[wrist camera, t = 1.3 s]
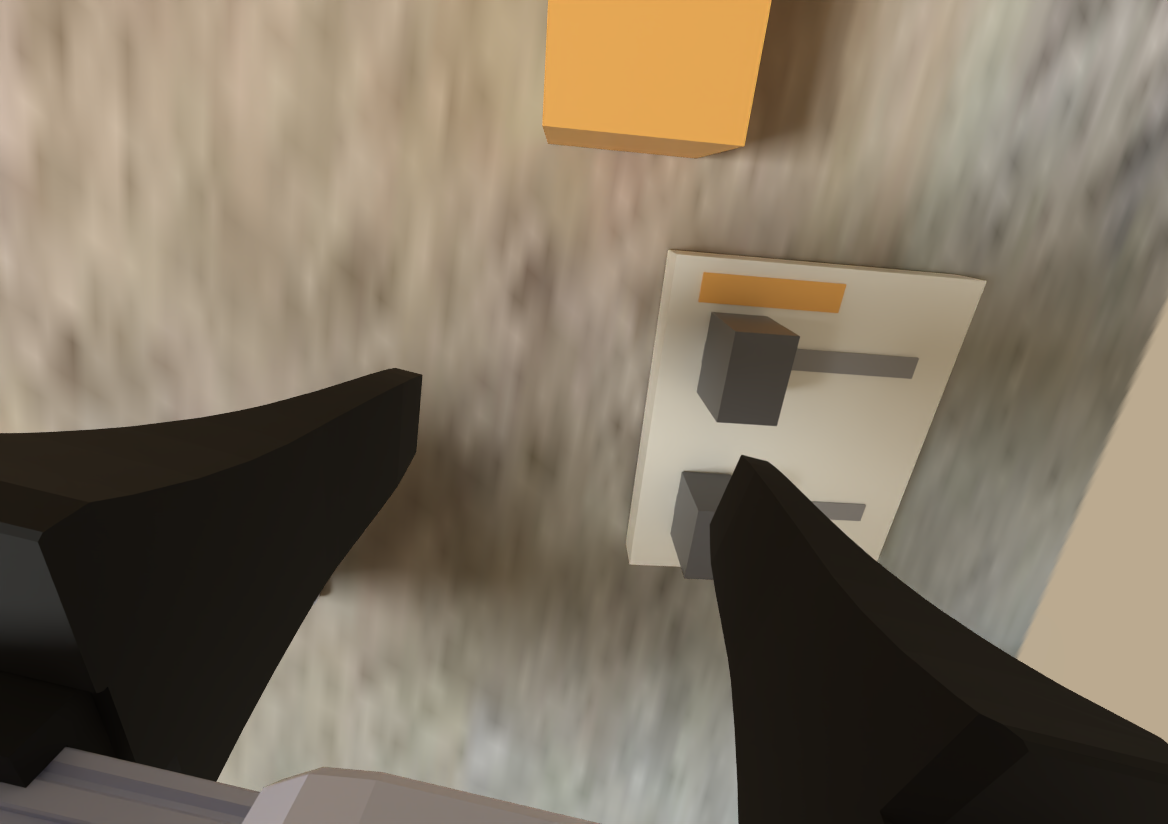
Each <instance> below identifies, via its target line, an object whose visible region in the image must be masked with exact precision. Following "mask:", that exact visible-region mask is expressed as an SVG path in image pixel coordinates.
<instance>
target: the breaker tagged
mask: <svg viewBox="0 0 1168 824" xmlns="http://www.w3.org/2000/svg"><path fill="white" fill-rule="evenodd" d="M799 339H800V336H799V335H797V334H796V333H794V332H792V331H791V330H789V329H787V328H786V327H784V326H782V325H781V324H779V323H778V322H776V321H774V320H773V319H771V318H769V317H768V316H758V315H745V314H733V313H720V312H711V317H710V323H709V328H708V333H707V339H706V344H705V349H704V355H703V360H702V366H701V371H700V376H699V382H698V387H697V393H698V395H699V396H700V398H701V399H702V401H703V402H704V404H705V405H706V407H707V409H708V410H709V412H710V413H711V415H712V416H713V418H714V419H715V421H716V422H718V423H734V424H750V425H766V426H777V424H778V420H779V416H780V412H781V408H782V405H783V401H784V397H785V393H786V389H787V385H788V382H789V378H790V374H791V370H792V366H793V362H794V358H795V355H796V351H797V347H798V343H799Z"/></svg>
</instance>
